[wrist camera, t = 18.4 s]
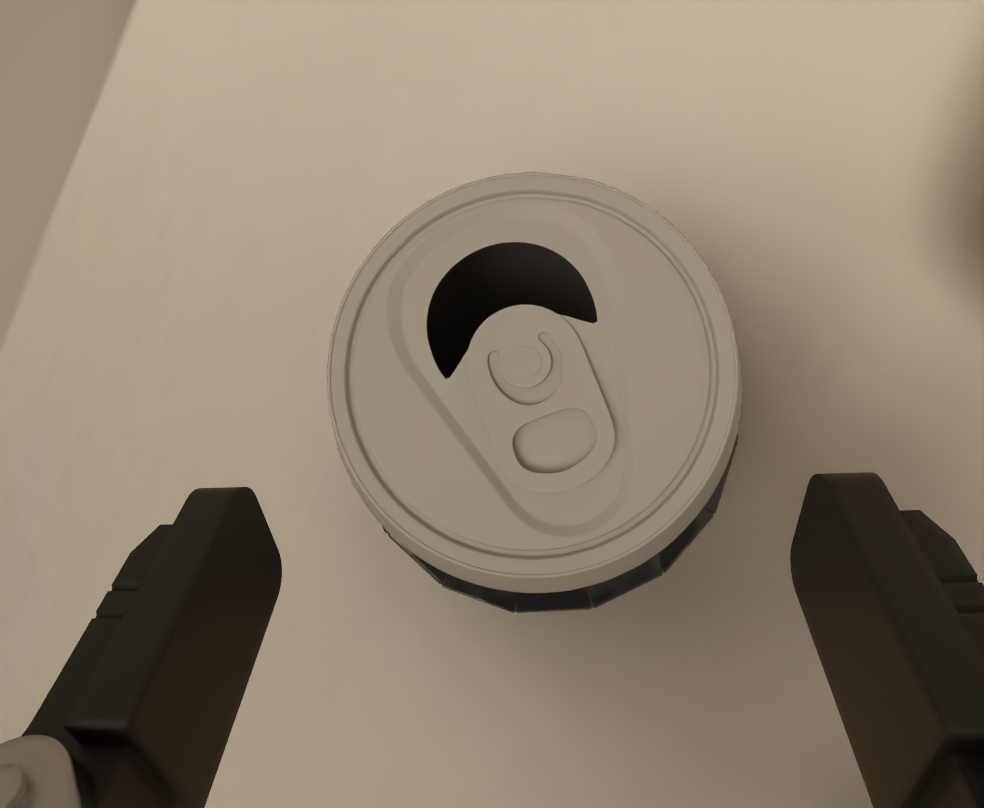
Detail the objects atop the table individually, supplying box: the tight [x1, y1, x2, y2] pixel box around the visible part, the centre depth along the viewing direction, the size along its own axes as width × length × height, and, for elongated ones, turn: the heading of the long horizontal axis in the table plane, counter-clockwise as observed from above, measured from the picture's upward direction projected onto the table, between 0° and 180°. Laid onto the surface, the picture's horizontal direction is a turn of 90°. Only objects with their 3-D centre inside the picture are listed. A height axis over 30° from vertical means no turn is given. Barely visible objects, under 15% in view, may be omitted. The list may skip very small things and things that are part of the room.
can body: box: [382, 433, 738, 613], centre depth 20 cm, size 10×10×4 cm
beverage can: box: [327, 172, 742, 593], centre depth 15 cm, size 6×6×12 cm
